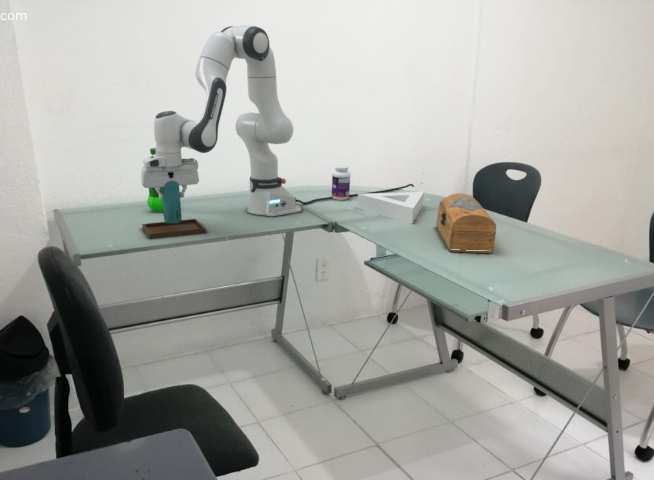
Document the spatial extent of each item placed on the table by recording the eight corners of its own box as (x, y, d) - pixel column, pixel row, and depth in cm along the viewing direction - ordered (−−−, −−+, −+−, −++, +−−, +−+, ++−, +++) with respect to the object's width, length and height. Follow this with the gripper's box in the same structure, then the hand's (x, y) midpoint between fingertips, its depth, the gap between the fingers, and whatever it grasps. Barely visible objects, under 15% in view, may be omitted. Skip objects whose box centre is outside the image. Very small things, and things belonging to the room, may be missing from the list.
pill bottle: (330, 196, 277) (331, 164, 271) (347, 196, 277) (348, 164, 272) (332, 200, 269) (334, 168, 264) (350, 200, 270) (352, 168, 264)
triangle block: (357, 208, 259) (357, 193, 256) (396, 199, 275) (397, 185, 272) (411, 224, 238) (413, 208, 236) (451, 213, 254) (452, 198, 252)
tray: (195, 223, 233) (195, 218, 232) (205, 232, 222) (205, 228, 221) (142, 228, 225) (142, 223, 224) (149, 238, 214) (149, 234, 213)
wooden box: (433, 227, 234) (437, 192, 228) (476, 229, 233) (481, 193, 227) (444, 252, 206) (449, 213, 201) (493, 254, 206) (499, 214, 200)
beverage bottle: (178, 228, 219) (175, 173, 211) (160, 226, 220) (157, 171, 212) (184, 223, 225) (182, 169, 217) (168, 222, 226) (164, 168, 218)
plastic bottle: (162, 205, 255) (157, 145, 245) (177, 210, 249) (173, 149, 239) (142, 210, 248) (136, 148, 238) (157, 215, 242) (152, 152, 232)
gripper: (195, 156, 220) (197, 193, 225) (138, 159, 211) (141, 198, 217) (200, 159, 214) (202, 197, 220) (142, 162, 206) (145, 202, 212)
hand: (171, 198), depth 218 cm, fingers closed on beverage bottle, 6 cm apart
